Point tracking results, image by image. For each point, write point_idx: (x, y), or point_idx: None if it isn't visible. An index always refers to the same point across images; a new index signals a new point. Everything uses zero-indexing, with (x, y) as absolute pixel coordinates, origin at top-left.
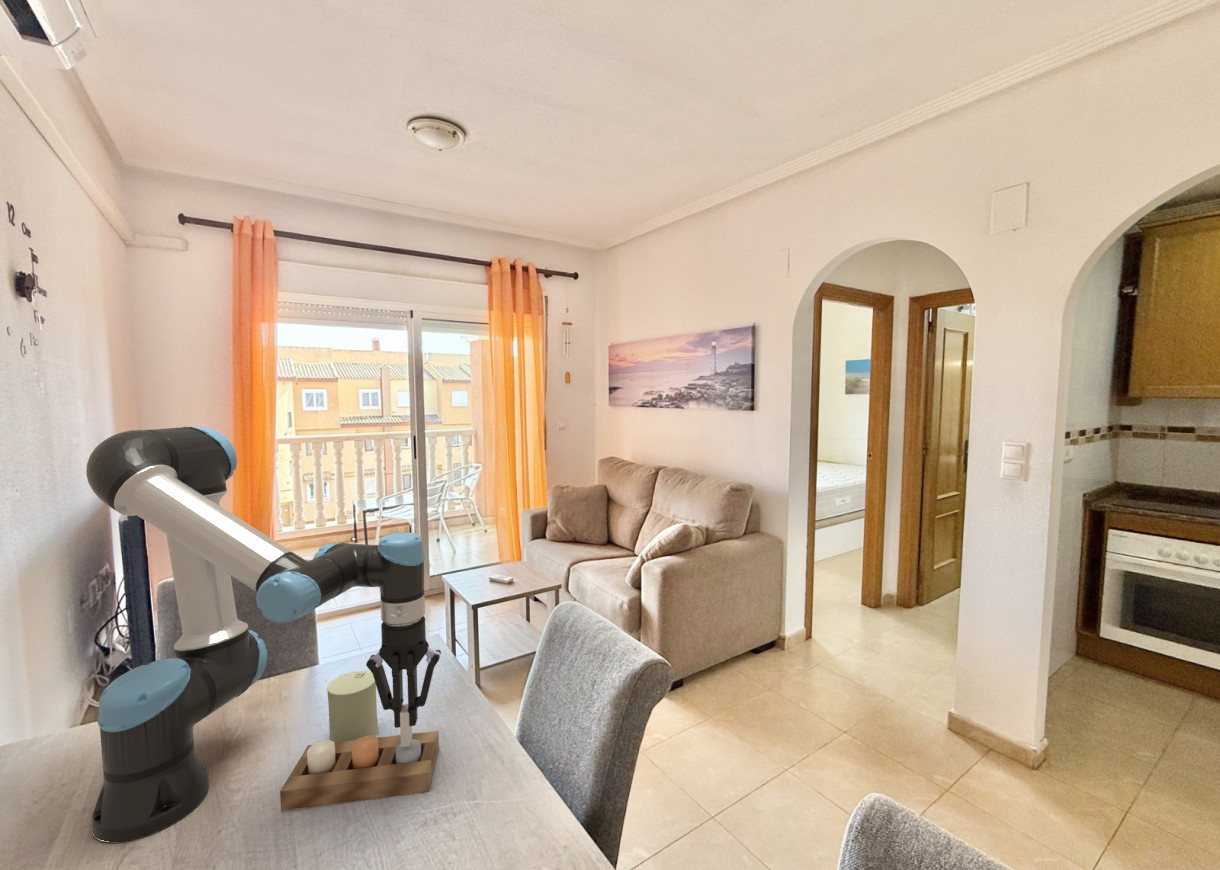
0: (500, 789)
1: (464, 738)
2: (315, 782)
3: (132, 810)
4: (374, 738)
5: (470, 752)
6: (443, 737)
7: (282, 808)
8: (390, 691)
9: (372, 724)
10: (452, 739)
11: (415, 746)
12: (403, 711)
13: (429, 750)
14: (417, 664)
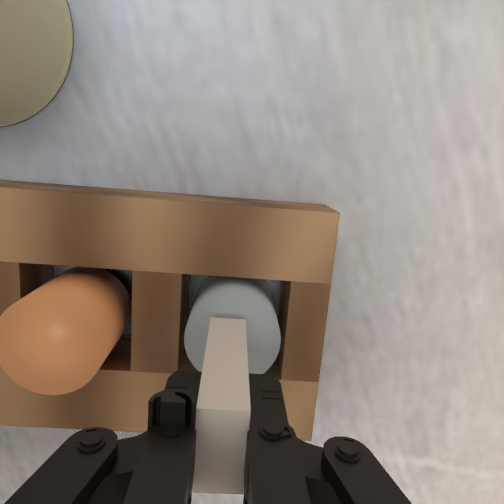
0: (495, 437)
1: (416, 173)
2: None
3: None
4: (81, 323)
5: (430, 259)
6: (339, 145)
7: None
8: (76, 500)
9: (35, 58)
10: (372, 167)
11: (261, 347)
12: (211, 482)
13: (309, 329)
14: None
